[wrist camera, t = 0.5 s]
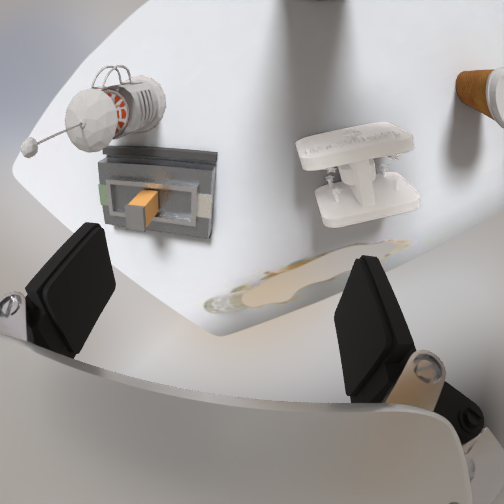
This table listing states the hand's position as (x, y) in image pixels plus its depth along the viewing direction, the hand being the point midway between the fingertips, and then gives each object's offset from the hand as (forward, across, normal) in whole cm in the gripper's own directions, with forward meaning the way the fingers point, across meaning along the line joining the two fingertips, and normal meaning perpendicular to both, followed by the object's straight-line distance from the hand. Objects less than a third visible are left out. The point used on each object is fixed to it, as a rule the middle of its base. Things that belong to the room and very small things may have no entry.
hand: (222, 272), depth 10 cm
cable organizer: (+35, -14, +3) cm, 38 cm away
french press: (+35, +20, -4) cm, 40 cm away
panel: (+35, +16, +13) cm, 41 cm away
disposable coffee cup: (+34, -33, -16) cm, 50 cm away
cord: (+35, +16, +5) cm, 39 cm away
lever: (+32, +17, +13) cm, 38 cm away
